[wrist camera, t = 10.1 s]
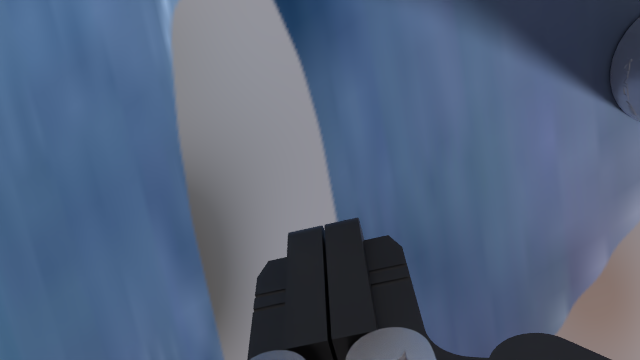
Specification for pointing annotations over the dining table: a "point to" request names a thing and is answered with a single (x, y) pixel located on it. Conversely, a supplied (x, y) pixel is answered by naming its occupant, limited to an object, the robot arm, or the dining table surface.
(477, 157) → the dining table surface
